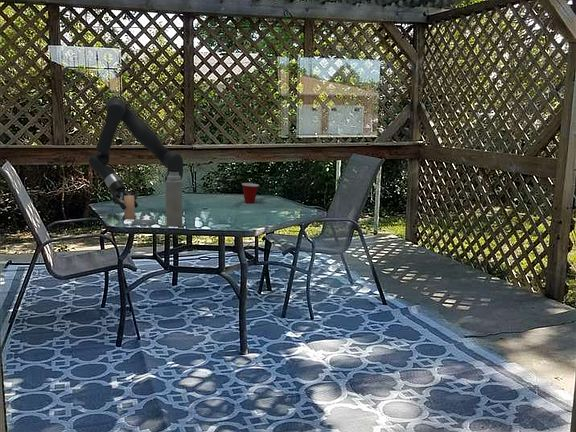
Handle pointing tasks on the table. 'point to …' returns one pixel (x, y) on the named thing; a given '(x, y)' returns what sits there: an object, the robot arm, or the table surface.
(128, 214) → the tan tapered cylinder
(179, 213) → the thermos bottle
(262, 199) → the table surface
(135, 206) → the robot arm
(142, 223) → the coaster
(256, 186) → the plastic cup
